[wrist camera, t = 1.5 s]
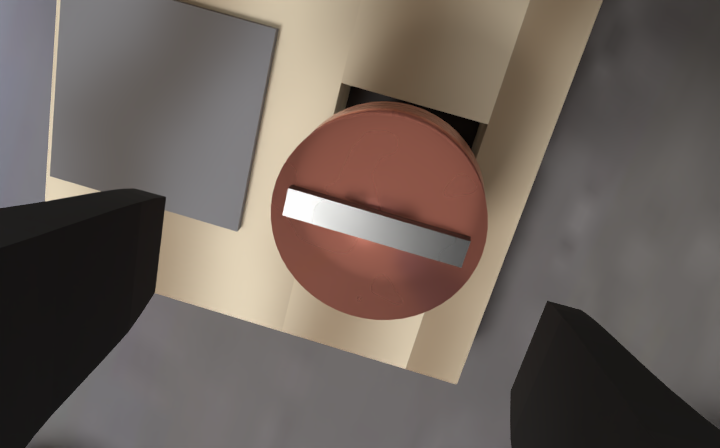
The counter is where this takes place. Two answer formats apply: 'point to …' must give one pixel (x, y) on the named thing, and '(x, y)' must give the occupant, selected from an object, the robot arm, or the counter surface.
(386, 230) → the peg
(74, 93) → the board
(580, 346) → the robot arm
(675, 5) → the counter surface
